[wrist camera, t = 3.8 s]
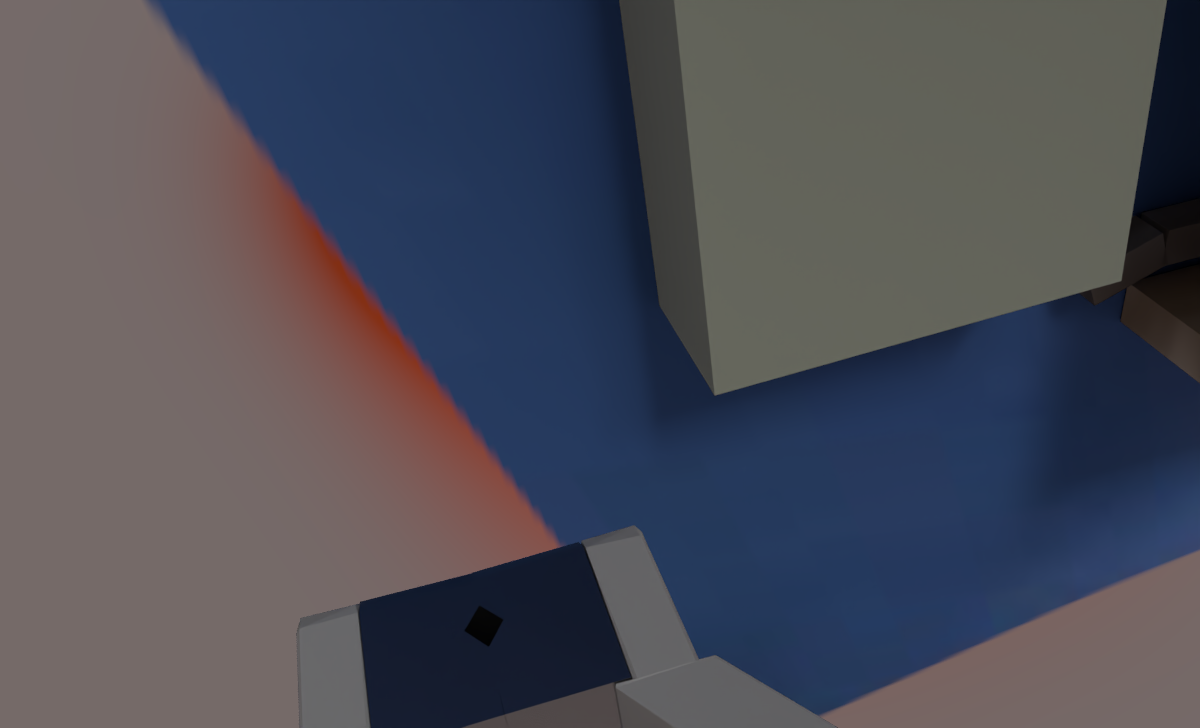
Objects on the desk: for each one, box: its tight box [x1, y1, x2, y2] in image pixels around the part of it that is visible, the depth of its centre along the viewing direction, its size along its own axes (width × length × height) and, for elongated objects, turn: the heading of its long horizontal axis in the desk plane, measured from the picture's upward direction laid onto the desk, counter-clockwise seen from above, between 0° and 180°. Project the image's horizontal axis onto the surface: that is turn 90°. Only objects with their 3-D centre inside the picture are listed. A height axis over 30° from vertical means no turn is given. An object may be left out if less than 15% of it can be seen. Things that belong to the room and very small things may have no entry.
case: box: [619, 0, 1167, 395], centre depth 20 cm, size 12×9×4 cm
